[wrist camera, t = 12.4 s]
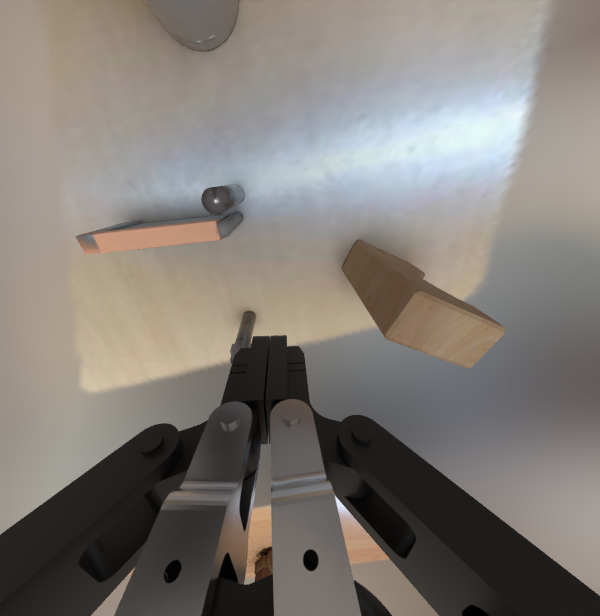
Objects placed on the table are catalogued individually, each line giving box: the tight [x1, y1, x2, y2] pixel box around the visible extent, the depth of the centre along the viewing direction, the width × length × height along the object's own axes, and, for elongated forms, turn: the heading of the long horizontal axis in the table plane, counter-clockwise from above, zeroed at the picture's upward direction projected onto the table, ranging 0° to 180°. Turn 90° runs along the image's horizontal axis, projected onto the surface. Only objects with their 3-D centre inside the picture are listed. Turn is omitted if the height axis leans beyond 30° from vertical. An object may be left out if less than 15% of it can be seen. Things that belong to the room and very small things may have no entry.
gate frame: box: [202, 185, 256, 363], centre depth 33 cm, size 22×3×12 cm, turn 0°
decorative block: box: [342, 240, 505, 368], centre depth 31 cm, size 11×6×20 cm, turn 65°
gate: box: [75, 212, 243, 255], centre depth 30 cm, size 16×2×9 cm, turn 95°
